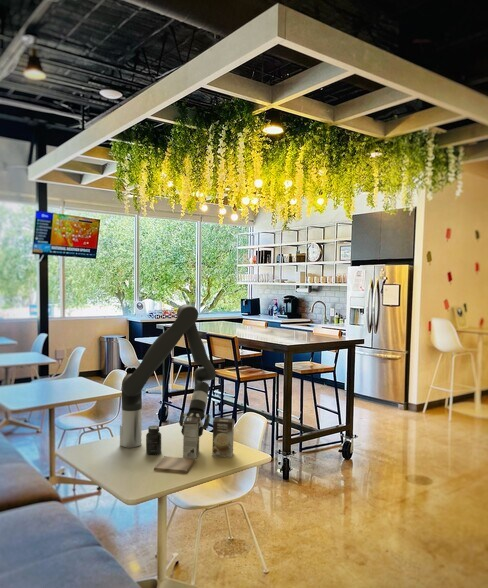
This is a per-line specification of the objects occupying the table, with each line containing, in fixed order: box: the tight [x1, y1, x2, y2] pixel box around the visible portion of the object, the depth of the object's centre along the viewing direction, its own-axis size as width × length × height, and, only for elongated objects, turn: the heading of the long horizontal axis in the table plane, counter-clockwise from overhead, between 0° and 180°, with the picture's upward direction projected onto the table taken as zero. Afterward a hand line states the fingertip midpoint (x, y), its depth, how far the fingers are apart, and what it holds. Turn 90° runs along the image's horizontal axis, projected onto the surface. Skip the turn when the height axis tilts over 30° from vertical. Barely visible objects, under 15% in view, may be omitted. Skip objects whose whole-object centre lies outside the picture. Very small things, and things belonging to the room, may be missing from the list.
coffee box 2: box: [211, 416, 235, 459], centre depth 217 cm, size 9×6×16 cm
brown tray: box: [153, 455, 196, 474], centre depth 203 cm, size 14×13×1 cm
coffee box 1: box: [182, 416, 201, 459], centre depth 216 cm, size 9×6×16 cm
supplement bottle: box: [145, 425, 162, 456], centre depth 217 cm, size 7×7×12 cm
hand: (191, 435), depth 216 cm, fingers closed on coffee box 1, 7 cm apart
